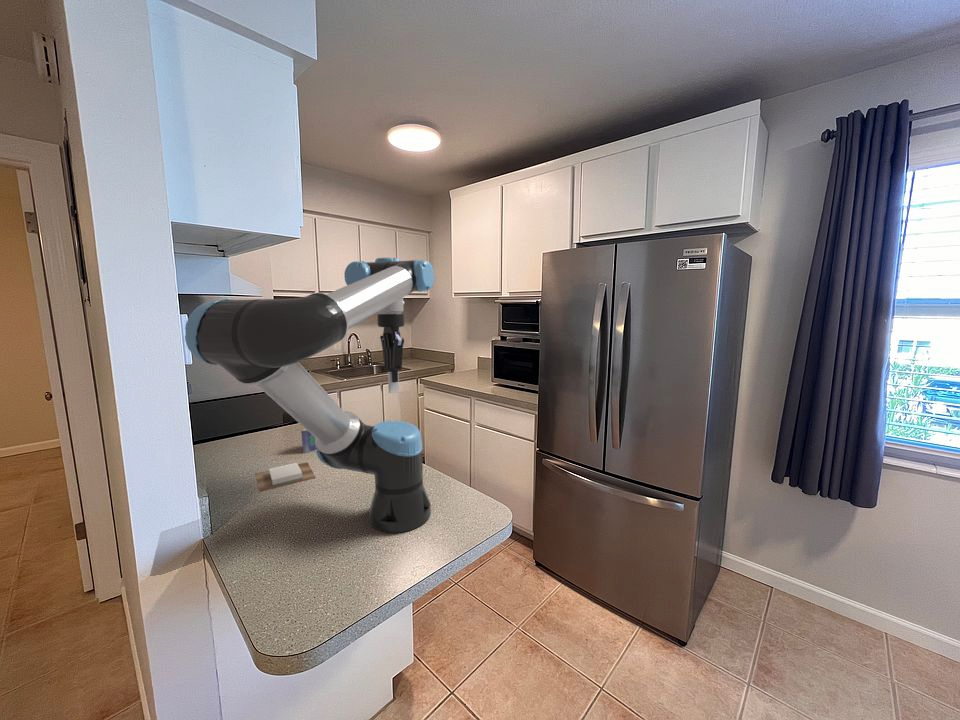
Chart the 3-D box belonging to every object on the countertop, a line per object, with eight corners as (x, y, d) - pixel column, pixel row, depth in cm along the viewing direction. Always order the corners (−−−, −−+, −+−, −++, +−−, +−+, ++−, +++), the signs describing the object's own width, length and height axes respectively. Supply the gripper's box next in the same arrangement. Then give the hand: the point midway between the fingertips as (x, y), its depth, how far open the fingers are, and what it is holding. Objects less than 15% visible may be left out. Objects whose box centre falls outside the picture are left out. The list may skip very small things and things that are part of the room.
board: (316, 479, 117) (316, 477, 117) (259, 493, 108) (259, 491, 108) (307, 463, 128) (307, 462, 128) (255, 475, 120) (255, 473, 120)
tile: (297, 467, 124) (302, 478, 116) (269, 474, 119) (272, 485, 112) (297, 462, 123) (302, 472, 116) (268, 468, 119) (272, 479, 112)
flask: (305, 455, 135) (303, 426, 134) (300, 453, 137) (298, 424, 135) (328, 447, 143) (326, 419, 141) (323, 445, 144) (321, 418, 143)
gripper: (411, 313, 109) (414, 394, 112) (394, 312, 119) (397, 386, 123) (386, 314, 104) (389, 398, 108) (370, 312, 115) (374, 389, 119)
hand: (393, 392), depth 115 cm, fingers closed
